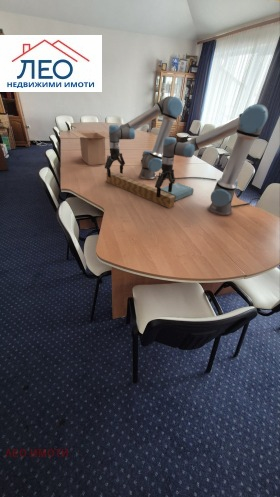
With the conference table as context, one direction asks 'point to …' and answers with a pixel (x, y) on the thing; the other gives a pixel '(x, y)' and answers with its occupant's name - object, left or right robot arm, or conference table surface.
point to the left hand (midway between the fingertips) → (115, 175)
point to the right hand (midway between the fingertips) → (164, 194)
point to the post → (141, 189)
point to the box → (92, 146)
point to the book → (178, 191)
